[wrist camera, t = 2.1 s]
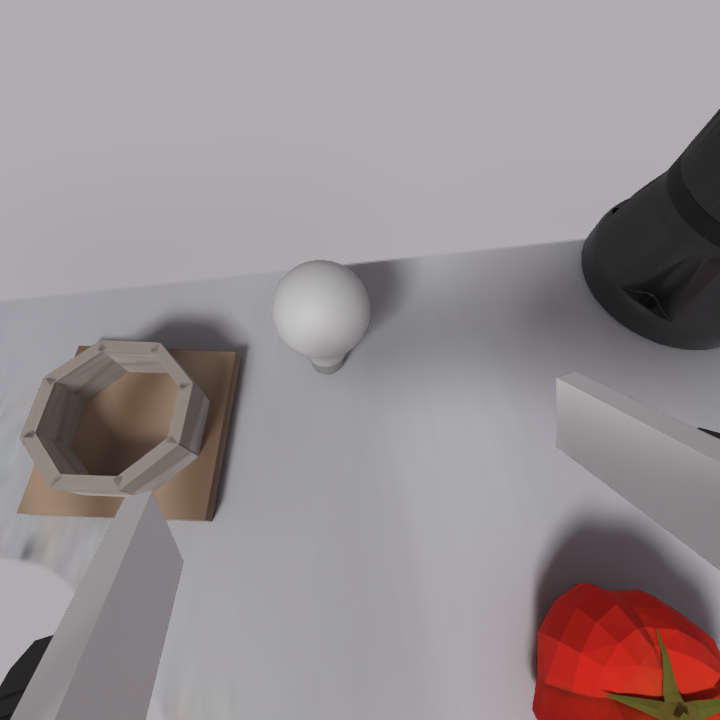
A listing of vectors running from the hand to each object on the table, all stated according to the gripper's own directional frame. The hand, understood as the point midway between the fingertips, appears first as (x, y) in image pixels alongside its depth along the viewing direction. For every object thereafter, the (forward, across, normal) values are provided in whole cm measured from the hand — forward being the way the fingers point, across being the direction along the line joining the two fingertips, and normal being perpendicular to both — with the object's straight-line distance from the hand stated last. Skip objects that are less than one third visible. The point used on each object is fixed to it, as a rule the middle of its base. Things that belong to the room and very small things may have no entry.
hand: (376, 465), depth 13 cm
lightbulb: (+20, +1, -4) cm, 20 cm away
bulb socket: (+19, -14, -5) cm, 24 cm away
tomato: (+2, +12, -21) cm, 24 cm away
